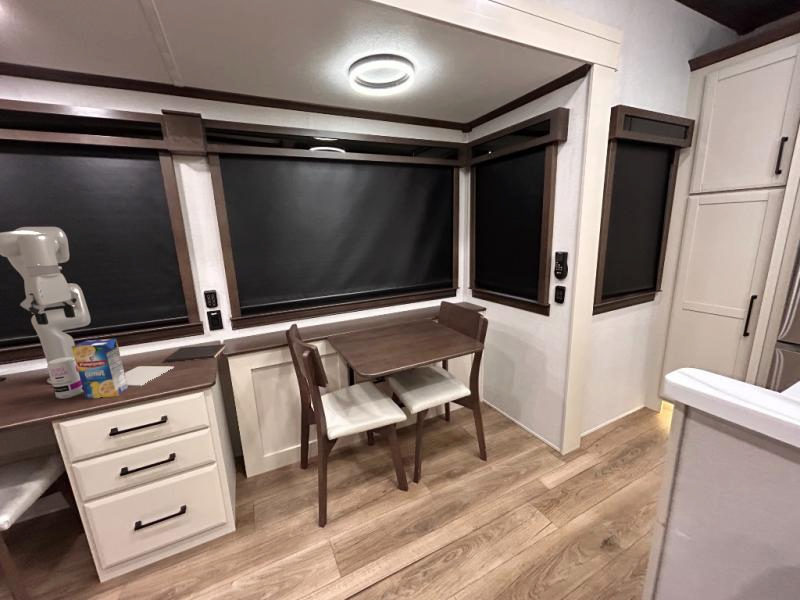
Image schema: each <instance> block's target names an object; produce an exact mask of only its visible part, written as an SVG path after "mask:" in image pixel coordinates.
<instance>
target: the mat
mask: <svg viewBox="0 0 800 600" xmlns="http://www.w3.org/2000/svg"><path fill="white" fill-rule="evenodd" d="M174 368H175V366H170V365H169V366H167V365H166V366H164V365H163V366H157V365H155V366H153V365H152V366H151V365H149V366H147V365H145V366H143V365H141V366H140V365H138V366H136V367H134V368H132V369H130V370H128V371H125V377H126V381H127V385H128V387H142V385H143V386H145V385H146V384H147V382H148V381H150V380H151V381H153V380H155V379H157V378H158V377H160V376H162V375H163V373H164V374H165V373H167V372H169V371H170V369H171V370H173V369H174ZM168 370H169V371H168ZM161 374H162V375H161ZM156 377H157V378H156ZM154 378H155V379H154ZM152 379H153V380H152ZM151 381H150V382H151ZM145 383H146V384H145ZM148 383H149V382H148Z"/></svg>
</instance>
